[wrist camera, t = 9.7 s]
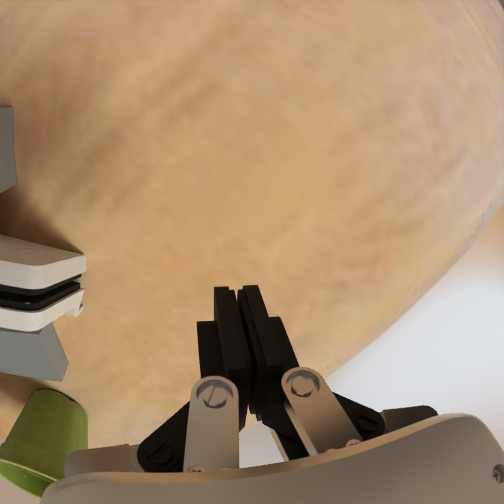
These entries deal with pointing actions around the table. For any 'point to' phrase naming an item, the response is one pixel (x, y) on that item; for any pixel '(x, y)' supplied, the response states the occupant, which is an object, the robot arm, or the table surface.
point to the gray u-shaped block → (16, 341)
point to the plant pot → (43, 441)
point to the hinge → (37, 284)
